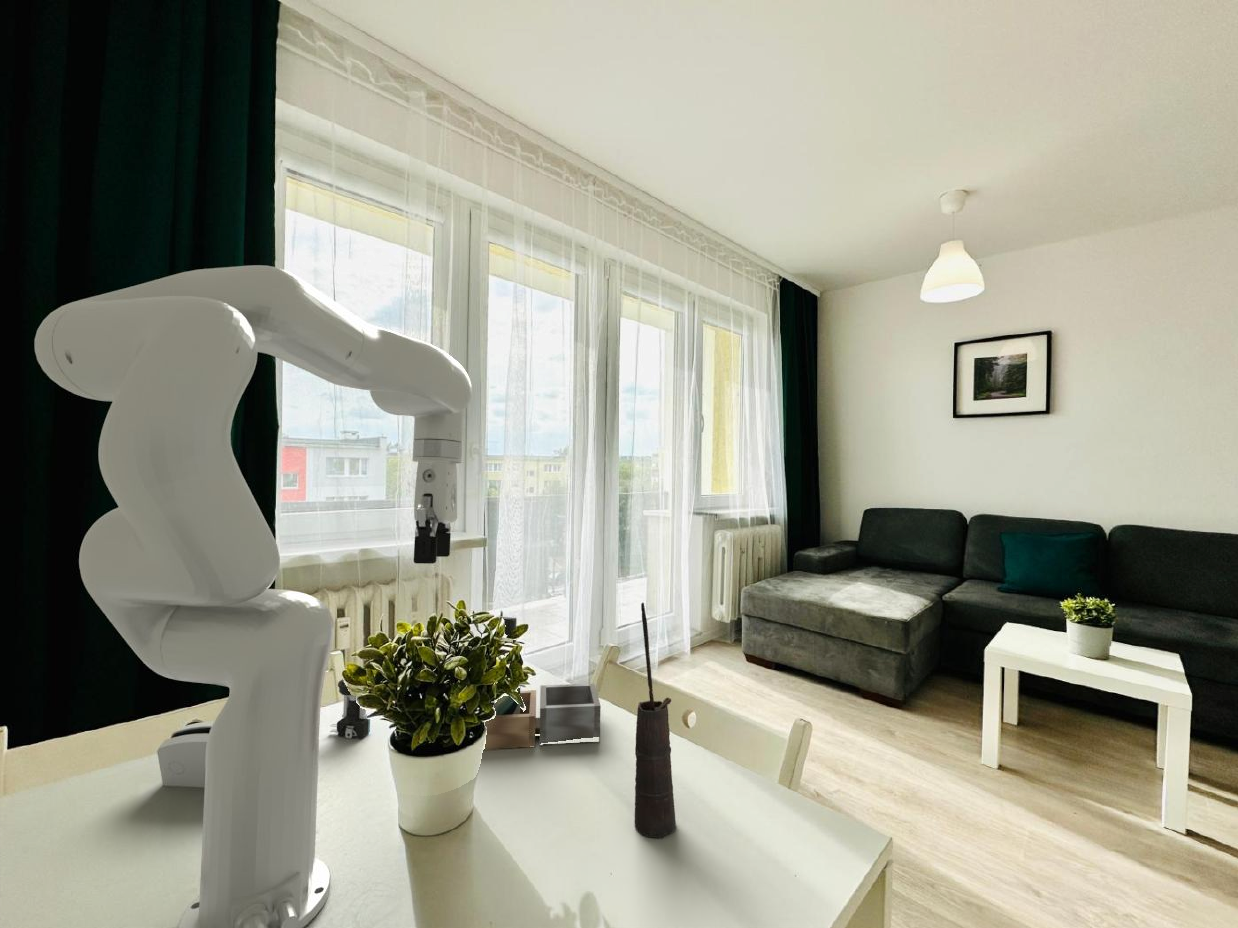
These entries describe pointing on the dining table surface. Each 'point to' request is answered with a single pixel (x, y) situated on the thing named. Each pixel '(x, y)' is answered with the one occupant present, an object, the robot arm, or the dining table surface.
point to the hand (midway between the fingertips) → (432, 559)
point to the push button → (351, 717)
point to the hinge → (185, 756)
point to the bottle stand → (548, 717)
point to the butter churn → (653, 762)
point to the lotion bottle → (506, 702)
